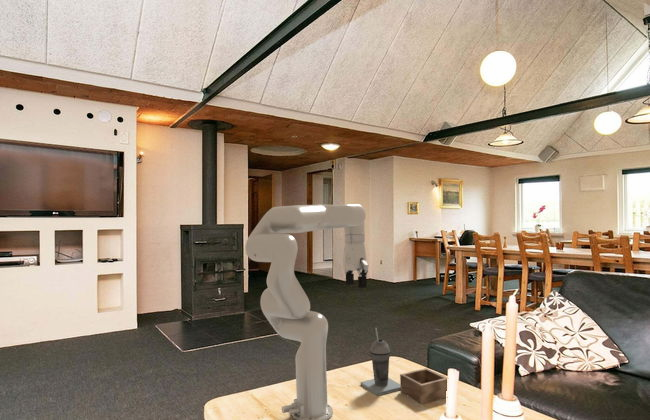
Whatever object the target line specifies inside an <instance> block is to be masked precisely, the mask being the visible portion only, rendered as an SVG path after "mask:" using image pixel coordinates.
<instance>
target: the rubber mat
mask: <svg viewBox="0 0 650 420" xmlns="http://www.w3.org/2000/svg"><path fill="white" fill-rule="evenodd" d="M360 386H362V387H363V388H365V389H366V390H368V391H369V392H370V393H372V394H374V395H375V396H377V397H378V396H382V395H387V394H390V393H394V392H399V391H401V384H400V382H399V383H398V382H397V381H395V380H393V379H391V378H390V377H388V385H387V386H384V387H379V386H376V385H375V380H374V378H372V379H368V380H364V381H360Z"/></svg>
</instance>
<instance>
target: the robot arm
mask: <svg viewBox="0 0 650 420" xmlns="http://www.w3.org/2000/svg"><path fill="white" fill-rule="evenodd" d="M366 215H367V214H366V210H365V208H364V206H362V205H361V204H359V203H353V204H352V203H351V204H328V203H327V204H323V203H322V204H321V203H319V204H299V205H297V204H296V205H283V206H282V205H281V206H280V205H279V206H274V207H271V208H270V209H269V210H267V211H266V213H265V214H264V215H263V216H262V217H261V218H260V220H259V222H258V223H257V224H256V226H255V227H254V229H253V230H252V231H251V233H250V234H249V236H248V238H247V240H246V242H245V254H246V255H247V257H248V258H249V259H250V260H251V261H254V262H257V263H270V267H269V270H268V273H267V277H266V285H267V288H266V289H264V290H263V292H262V294H261V295H260V302H259V303H260V309H261V312H262V313H263V316H264V317H265V318H266V320H267V321H268V323H269V324H270V325H271V327H272V328H273V329H274V331H275V332H276V333H277V335H278V336H280V337H281V338H282V339H283V338H284V339H285V340H286V339H287V340H290V341H291V340H292V341H296V342H300V345H299V347H298V349H297V352H296V353H295V357H294V358H295V386H296V390H295V391H296V398H295V399H294V398H293V402H292V403H291V404H287V405H282V406H281V412H282V414H286V413H288V415H291V416H292V418H293V419H294V420H329V419H330V418H331V417H332V416H333V412H334V411H333V407H332V406H331V405H330V404H329V403H328V385H327V384H328V381H327V375H328V374H327V353H326V351H327V338H328V333H329V322H328V319H327V318H326V316H324V314H322V313H320V312H318V311H313V310H311V301H310V299H309V298H308V295H307V294H306V291H304V289H303V287H302V285H301V284H300V282H299V280H298V278H297V277H296V274H295V265H296V259H297V255H298V251H299V250H298V248H299V247H298V241H297V240H296V238H295V237H294V236H293V235H292V234H300V233H308V232H316V231H325V230H328V231H329V230H333V229H339V228H343V229H344V233H343V234H344V245H343V246H344V247H343V269H344V273H345V285H347V286H348V285H349V286H350V285H354V284H355V279H354V277H355V275H354V272H356V273H357V275H358V276H357V283H358V284H357V288H358V289H362V288H367V287H368V284H367V281H368V280H367V276H368V272H369V270H368V269H369V264H368V262H367V253H366V238H365V237H366V236H365V235H366V234H365V233H366V231H365V220H366Z"/></svg>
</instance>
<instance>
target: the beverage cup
mask: <svg viewBox="0 0 650 420" xmlns="http://www.w3.org/2000/svg"><path fill="white" fill-rule="evenodd" d="M374 328H375V329H374V330H375V336H376V340H374V342H372V344H371V345H370V351H369V353H370V357H371V362H372V372H373V379H374V380H375V385H376V386H379V387H384V386H387V385H388V378H389V373H390V371H389V369H390V356H391V349H390V345H389V344H388V342H387V341H386V340H383V339H379V333H378V328H377V327H374Z"/></svg>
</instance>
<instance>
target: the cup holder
mask: <svg viewBox="0 0 650 420" xmlns="http://www.w3.org/2000/svg"><path fill="white" fill-rule="evenodd" d="M447 378H448V377H446V376H444V375H442V374H440V373H437V372H436V371H433V370H431V369H429V368H427V367H426V368H421V369H417V370H412V371H408V372H405V373H400V374H399V379H400V381H399V384H400V385H401V390H400V392H401V393H402V394H403V395H405V396H407V397H409V398H410V399H412V400H413V401H414V402H418V403H419V404H421V405H425V404H429V403H433V402H436V401H440V400H443V399H446V391H447Z"/></svg>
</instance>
